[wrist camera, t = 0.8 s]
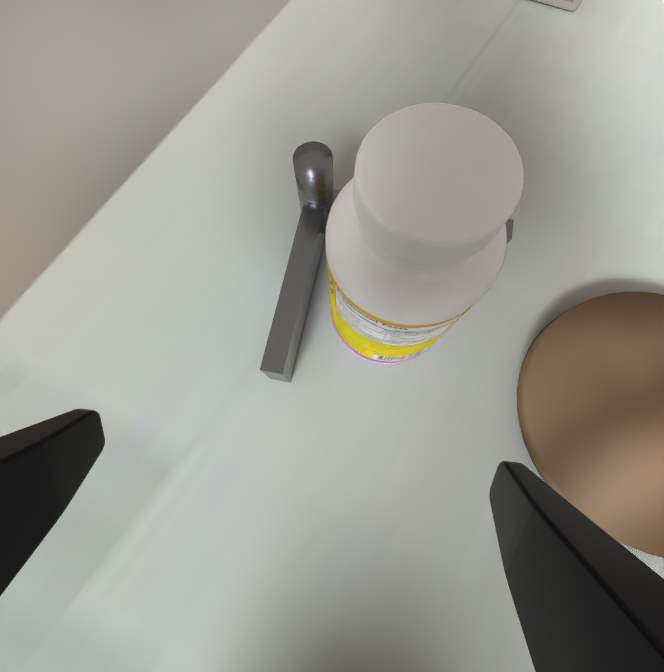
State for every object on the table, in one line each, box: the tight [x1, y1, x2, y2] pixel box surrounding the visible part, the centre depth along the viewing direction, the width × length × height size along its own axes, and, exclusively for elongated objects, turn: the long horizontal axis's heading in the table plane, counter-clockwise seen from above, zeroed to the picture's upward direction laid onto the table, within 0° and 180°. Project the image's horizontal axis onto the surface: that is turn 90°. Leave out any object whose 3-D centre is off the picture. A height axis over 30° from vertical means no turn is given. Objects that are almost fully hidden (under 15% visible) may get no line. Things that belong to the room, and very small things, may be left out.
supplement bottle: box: [325, 102, 524, 364], centre depth 16 cm, size 7×7×13 cm
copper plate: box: [517, 292, 664, 558], centre depth 20 cm, size 14×14×1 cm
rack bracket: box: [260, 142, 513, 382], centre depth 20 cm, size 12×12×6 cm
